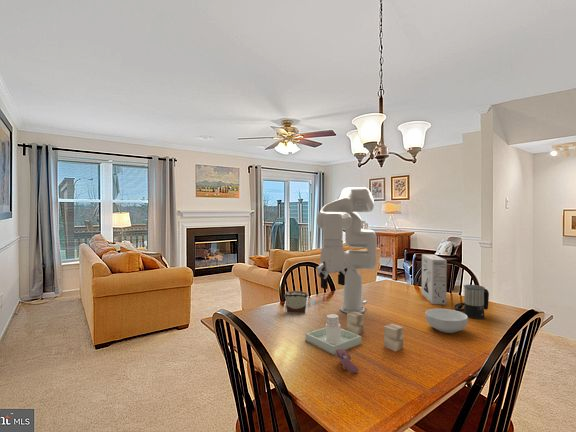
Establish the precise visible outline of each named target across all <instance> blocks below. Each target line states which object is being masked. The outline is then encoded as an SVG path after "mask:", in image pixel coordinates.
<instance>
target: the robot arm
mask: <svg viewBox="0 0 576 432" xmlns="http://www.w3.org/2000/svg"><path fill="white" fill-rule="evenodd" d="M374 206H375V201H374V197H373V195H372V193H371V191H370V189H369V188H367V187H365V186H363V187H362V186H361V187H357V186H356V187H344V188H343V189H342V190H341V191H340V193H339V195H338V197H337V199H336V200H334V201H331V202H329V203H327V204H325V205H323V206H322V208H321V209H319V210H320V211H319V212H318V214H317V217H316V224H317V227H318V228H319V229H321V230H323V247H321V251H320V259H319V264H318V266H316V268H315V271H316V274H317V276H318V277H319V278H320V288H321V289H323V290H328V284H329V283H328V281H329V280H328V276H329V274H335V273H337V284H338V285H340V286H343V289H342V290H343V292H342V293H343V295H342V296H343V298H342V300H343V303H342V305H341V306H340V312H342V313H345V314H347V313H351V312H354V311H355V312H358V313H361V314H364V313H365V311H366V309H365V307H364V305H367V304H368V301H367V300H363V294H362V293H363V277H362V274H361V272H360V271H359V270H368V271H369V270H375V268H376V265H377V233H376V231H374V230H372V229H363V220H362V218H361V216H360V215H359V214H358V213H368V212H372V211H373V210H374ZM343 231H345V234H344V237H345V238H343ZM343 239H344V241H345V244H346V246H347V247H349V248H353V249H348V250H344V245H343V243H344V241H343ZM355 248H359V249H358V250H357V249H355ZM360 249H366V250H360Z"/></svg>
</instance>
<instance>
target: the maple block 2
mask: <svg viewBox="0 0 576 432" xmlns="http://www.w3.org/2000/svg"><path fill="white" fill-rule="evenodd" d="M383 348H386V349H388V350H391V351H394V352H397V351H400V350H402V349H403V348H404V327H403V326H401V325H397V324H394V323H390V324H387V325H384V326H383Z"/></svg>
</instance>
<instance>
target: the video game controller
mask: <svg viewBox="0 0 576 432" xmlns="http://www.w3.org/2000/svg"><path fill="white" fill-rule="evenodd" d="M335 351H336V354H334V356H335V357H336V358H338V359H339V360H340V363H341V365H342V369H345V371H348V372H349V373H353V374H357V373H359V368H358V366H357V365H355V364H354V363H353V362H352V361H351V360H352V357H351V356H350V354H349V353H347V350H343V349H342V348H338V349H337V350H335Z"/></svg>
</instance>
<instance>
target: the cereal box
mask: <svg viewBox="0 0 576 432" xmlns="http://www.w3.org/2000/svg"><path fill="white" fill-rule="evenodd" d="M447 263H448V261H447V259H445V258H442V257H441V256H438V255H436V254H431V253H430V254H428V253H427V254H424V253H423V254H421V295H422V296H423V297H424V298H425V299H426V300H427V301H428V302H430V304H431V305H445V306H447V277H448V276H447V271H448V270H447V265H448V264H447Z"/></svg>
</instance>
